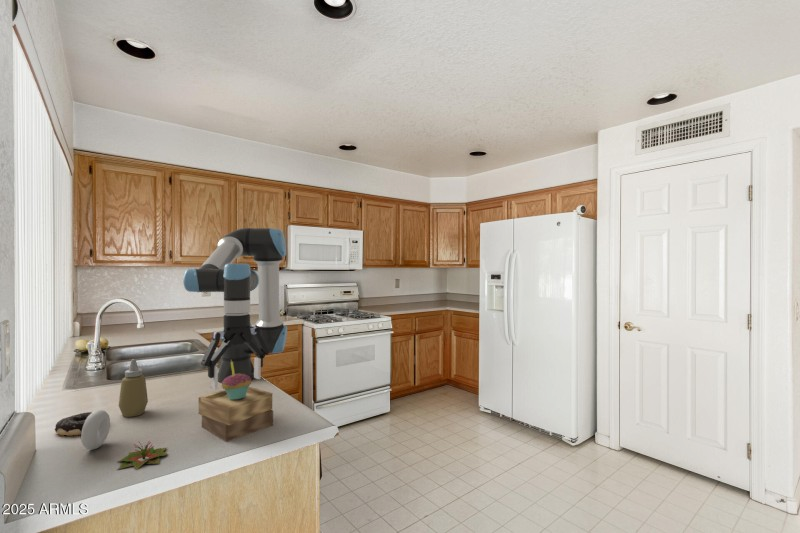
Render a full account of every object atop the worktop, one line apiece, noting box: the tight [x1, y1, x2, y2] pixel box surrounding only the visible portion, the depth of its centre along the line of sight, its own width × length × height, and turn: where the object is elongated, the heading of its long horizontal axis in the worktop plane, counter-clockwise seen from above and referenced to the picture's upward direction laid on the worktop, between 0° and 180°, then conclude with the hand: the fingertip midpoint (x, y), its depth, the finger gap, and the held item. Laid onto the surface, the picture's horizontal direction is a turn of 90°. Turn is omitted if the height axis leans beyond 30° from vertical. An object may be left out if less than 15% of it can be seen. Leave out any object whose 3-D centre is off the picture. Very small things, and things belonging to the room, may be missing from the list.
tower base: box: [201, 409, 274, 442], centre depth 122 cm, size 15×15×5 cm
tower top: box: [198, 386, 273, 425], centre depth 122 cm, size 15×15×5 cm
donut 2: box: [80, 409, 111, 451], centre depth 107 cm, size 10×4×10 cm, turn 12°
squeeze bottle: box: [118, 358, 149, 418], centre depth 130 cm, size 8×8×18 cm
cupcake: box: [221, 360, 252, 400], centre depth 122 cm, size 9×8×12 cm
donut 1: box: [54, 411, 93, 436], centre depth 119 cm, size 11×12×4 cm
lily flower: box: [116, 440, 170, 471], centre depth 101 cm, size 12×12×5 cm
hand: (236, 383), depth 122 cm, fingers open, 13 cm apart
